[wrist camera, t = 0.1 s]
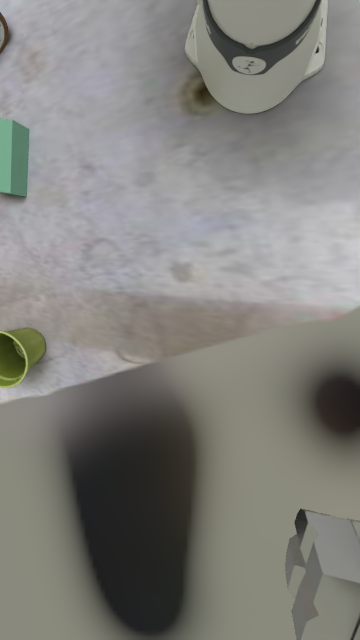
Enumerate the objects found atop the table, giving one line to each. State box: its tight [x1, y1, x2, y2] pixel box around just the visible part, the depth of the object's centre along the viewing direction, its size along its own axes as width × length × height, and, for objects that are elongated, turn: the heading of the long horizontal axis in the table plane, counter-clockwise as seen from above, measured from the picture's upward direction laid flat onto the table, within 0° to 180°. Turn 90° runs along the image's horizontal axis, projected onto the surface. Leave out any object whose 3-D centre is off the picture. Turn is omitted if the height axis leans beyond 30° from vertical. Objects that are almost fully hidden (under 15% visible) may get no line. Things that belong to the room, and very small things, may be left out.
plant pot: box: [0, 328, 46, 388], centre depth 57 cm, size 9×9×9 cm
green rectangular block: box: [0, 118, 29, 197], centre depth 53 cm, size 10×4×4 cm, turn 171°
